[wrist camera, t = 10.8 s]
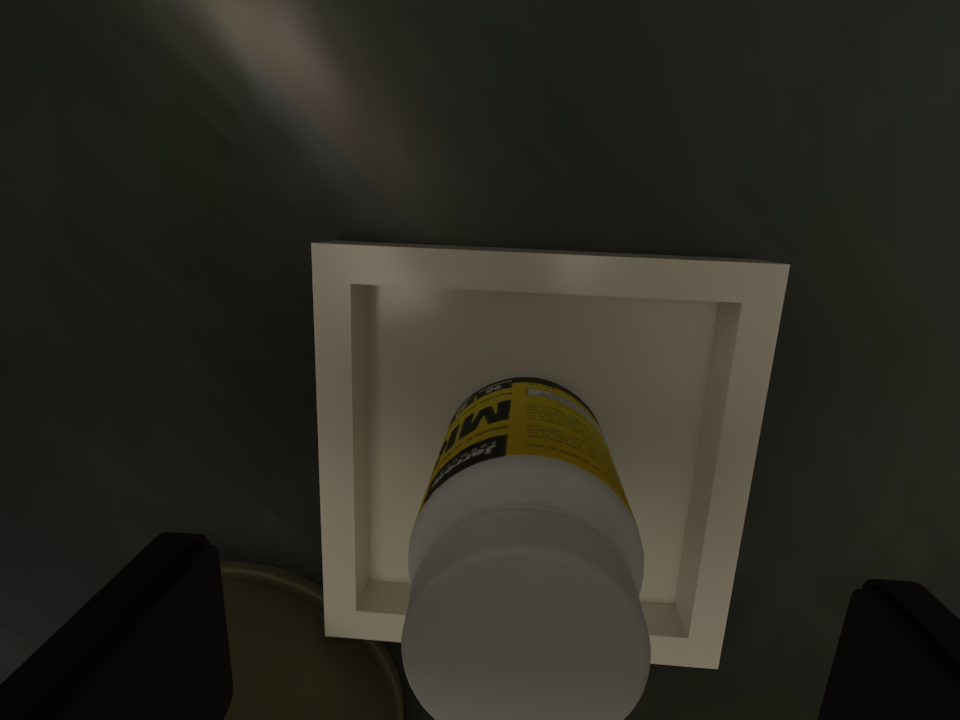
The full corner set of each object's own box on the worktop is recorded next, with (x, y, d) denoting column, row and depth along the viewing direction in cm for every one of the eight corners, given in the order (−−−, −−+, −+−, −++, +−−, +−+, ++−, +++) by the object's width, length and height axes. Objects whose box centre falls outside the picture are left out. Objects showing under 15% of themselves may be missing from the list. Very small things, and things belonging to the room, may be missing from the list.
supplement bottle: (499, 341, 16) (479, 465, 8) (633, 424, 16) (747, 626, 8) (417, 467, 17) (325, 690, 9) (544, 542, 17) (566, 823, 9)
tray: (337, 240, 16) (311, 243, 14) (754, 258, 16) (790, 264, 13) (345, 592, 19) (324, 636, 17) (695, 620, 18) (717, 669, 16)
